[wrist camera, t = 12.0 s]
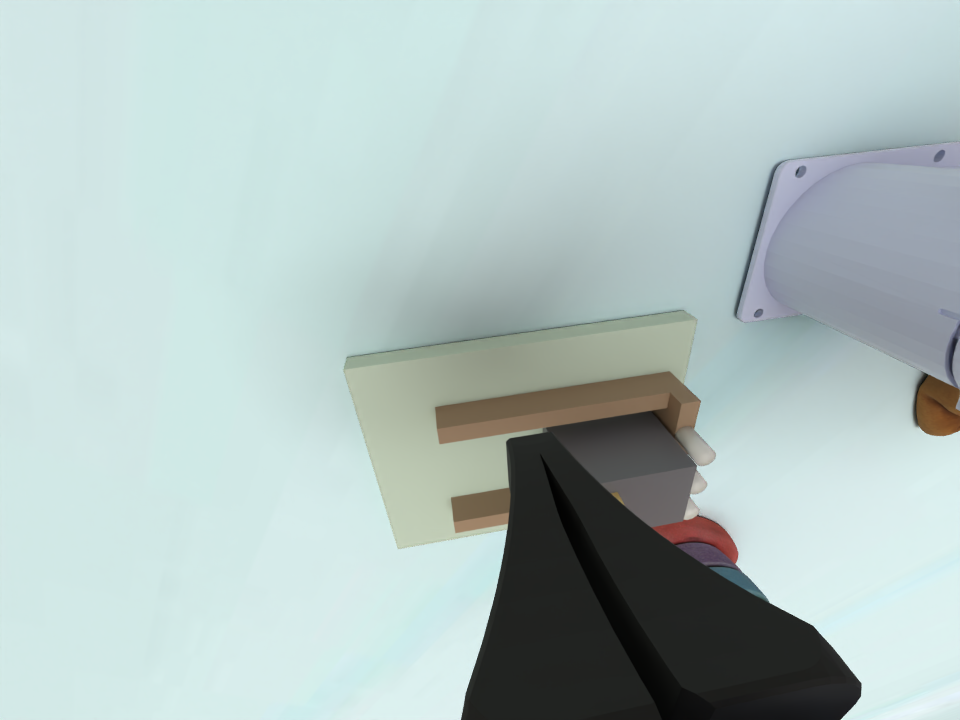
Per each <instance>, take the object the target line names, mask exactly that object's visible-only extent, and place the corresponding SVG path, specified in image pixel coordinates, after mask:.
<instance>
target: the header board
mask: <svg viewBox="0 0 960 720" xmlns="http://www.w3.org/2000/svg"><path fill="white" fill-rule="evenodd" d="M697 320H698V319H696V318H695V317H693V316H692V315H690V314H689V313H687V312H686V311H684V310H683V311H676V312H669V313H662V314H655V315H647V316H640V317H633V318H626V319H619V320H612V321H605V322H597V323H590V324H583V325H576V326H569V327H562V328H555V329H547V330H540V331H533V332H526V333H519V334H512V335H505V336H497V337H490V338H483V339H476V340H469V341H462V342H455V343H447V344H440V345H433V346H426V347H419V348H412V349H405V350H397V351H390V352H383V353H376V354H369V355H362V356H355V357H347V359H346V363H345V366H344V369H343V370H344V374H345V377H346V380H347V384H348V387H349V390H350V393H351V397H352V400H353V403H354V406H355V410H356V413H357V416H358V420H359V423H360V426H361V429H362V433H363V436H364V439H365V443H366V446H367V449H368V452H369V456H370V459H371V462H372V466H373V469H374V472H375V475H376V479H377V482H378V485H379V488H380V492H381V495H382V498H383V502H384V505H385V508H386V511H387V515H388V518H389V521H390V525H391V528H392V531H393V534H394V538H395V541H396V544H397V548H398V549H402V548H407V547H413V546H419V545H424V544H430V543H435V542H441V541H446V540H452V539H458V538H463V537H469V536H474V535H480V534H486V533H491V532H497V531H502V530H507V528H508V519H509V509H510V497H511V494H510V489H509V481H508V466H507V451H506V441H507V440H508V439H509V438H514V437H520V436H526V435H533V434H539V433H543V428H546V427H552V426H558V425H564V424H571V423H577V422H583V421H589V420H596V419H602V418H608V417H614V416H621V415H627V414H633V413H639V412H646V411H652V412H653V414H654V415H655V416H656V417H657V418H658V420H659V421H660V422H661V423H662V424H663V426H664V427H665V428H666V429H667V430H668V432H669V433H670V434H671V435H672V436H673V438H674V439H675V440H676V441H677V442H678V444H679V445H680V446H681V447H682V448H683V450H684V451H685V452H686V453H687V454H689V456H690V457H691V458H692V459H693V460H694V462H695V463H696V464H697V465H699V466H705V465H708V464H710V463H711V462H712V461H713V460H714V459H715V457H716V453H715V452H714V451H713V450H712V448H711V447H710V446H709V445H708V444H707V443H706V442H705V441H704V440H703V439H702V438H701V437H700V435H699V434H698V433H697V432H696V431H695V430H694V427H695V423H696V419H697V415H698V411H699V407H700V403H701V401H700V400H699V399H698V398H697V397H696V396H695V395H694V394H693V393H692V392H691V391H690V390H689V389H688V388H687V387H686V386H685V385H684V380H685V375H686V371H687V366H688V362H689V357H690V352H691V348H692V343H693V338H694V334H695V329H696V324H697ZM706 487H707V482H706V481H705V480H704V478H703V477H702V476H701V475H700V473H699V472H698V471H697V470H696V472H695V476H694V480H693V484H692V488H691V492H690V494H698V493H700V492H702V491H703V490H705V488H706ZM698 513H699V508H698V507H697V506H696V504H695V503H694V502H693V500H692V499H691V498H690V496H689V500H688V504H687V508H686V512H685V516H684V520H689V519H692V518H694V517H696V516H697V515H698Z"/></svg>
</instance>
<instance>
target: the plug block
mask: <svg viewBox="0 0 960 720" xmlns="http://www.w3.org/2000/svg"><path fill="white" fill-rule="evenodd" d="M545 432H552V433H553V434H554V435H555V436H556V437H557V438H558V439H559V440H560V442H561V443H562V444H563V445H564V446H565V447H566V448H567V450H568V451H569V452H570V453H571V454H572V455H573V456H574V457H575V458H576V459H577V460H578V462H579V463H580V464H581V465H582V466H583V467H584V468H585V469H586V470H587V471H588V472H589V473H590V474H591V475H592V476H593V477H594V478H595V479H596V480H597V481H598V482H599V483H600V484H601V485H602V486H603V487H605V488H606V489H607V490H608V491H609V492H610V493H611V494H612V495H613V496H614V497H615V498H617V499H618V500H619V501H620V502H621V503H622V504H623V505H625V506H626V507H627V508H628V509H629V510H630V511H632V512H633V513H634V514H635V515H636V516H638V517H639V518H640V519H641V520H642V521H644V522H645V523H646V524H648V525H649V526H650V527H656V526H661V525H666V524H672V523H677V522H682V521H683V520H684V516H685V512H686V508H687V504H688V500H689V496H690V492H691V488H692V484H693V480H694V476H695V472H696V468H697V465H696V464H695V463H694V462H693V460H692V459H691V458H690V457H689V456H688V454H687V453H686V452H685V451H684V450H683V448H682V447H681V446H680V445H679V444H678V442H677V441H676V440H675V439H674V438H673V436H672V435H671V434H670V433H669V432H668V430H667V429H666V428H665V427H664V426H663V424H662V423H661V422H660V421H659V420H658V418H657V417H656V416H655V415H654V414H653V412H652V411H646V412H639V413H633V414H627V415H621V416H614V417H608V418H602V419H596V420H589V421H583V422H577V423H571V424H564V425H558V426H552V427H546V428H543V433H545Z"/></svg>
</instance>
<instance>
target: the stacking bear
mask: <svg viewBox="0 0 960 720" xmlns="http://www.w3.org/2000/svg"><path fill="white" fill-rule="evenodd" d="M651 528H653V529H654V530H655V531H657V532H658V533H659V534H661V535H662V536H663V537H665V538H666V539H667V540H669V541H670V542H672V543H673V544H674V545H676V546H677V547H679V548H680V549H681V550H683V551H684V552H686V553H687V554H689V555H690V556H692V557H694V558H695V559H697V560H698V561H700V562H701V563H703V564H704V565H706V566H707V567H709V568H710V569H712V570H714V571H715V572H717V573H718V574H720V575H721V576H723V577H724V578H726V579H728V580H730V581H731V582H733V583H735V584H736V585H738V586H740V587H741V588H743V589H745V590H747V591H748V592H750V593H752V594H754V595H755V596H757V597H759V598H761V599H763V600H765V601H767V602H768V603H769V601H768V599H767V598H766V596H765V595H764V594H763V593H762V592H761V591H760V590H759V588H758V587H757V586H756V585H755V584H754V583H753V582H752V581H751V580H750V579H749V578H748V577H747V576H746V575H745V574H744V573H742V571H741V570H740V569H739V568H738V567H737V566H736V565H735V563H736V562H737V559H738V551H737V548H736V545H735V543H734V542H733V540H732V538H731V537H730V535H729V534H728V533H727V532H726V531H725V530H724V529H723V528H722V527H721V526H719V525H718V524H716V523H715V522H713V521H710V520H708V519H705V518H702V517H697V516H696V517H694V518H692V519H689V520H683V521H682V522H677V523H672V524H666V525H661V526H656V527H651Z"/></svg>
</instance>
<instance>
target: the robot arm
mask: <svg viewBox="0 0 960 720" xmlns="http://www.w3.org/2000/svg"><path fill="white" fill-rule="evenodd" d="M798 168H799V172H798V174H797V175H796V176H795V172H796V170H797V169H798ZM757 310H758V311H757ZM756 311H757V312H756ZM755 312H756V313H755ZM754 313H755V314H754ZM803 314H804V315H806V316H808V317H810V318H812V319H814V320H816V321H818V322H820V323H823V324H825V325H827V326H829V327H831V328H833V329H835V330H837V331H839V332H841V333H843V334H845V335H848V336H850V337H852V338H854V339H856V340H858V341H860V342H862V343H864V344H866V345H868V346H870V347H873V348H875V349H877V350H879V351H881V352H883V353H885V354H887V355H889V356H891V357H893V358H895V359H897V360H900V361H902V362H904V363H906V364H908V365H910V366H912V367H914V368H916V369H918V370H920V371H922V372H925V373H927V374H929V375H931V376H933V377H935V378H937V379H939V380H941V381H943V382H945V383H947V384H950V385H952V386H954V387H956V388H958V389H960V142H948V143H939V144H930V145H921V146H912V147H903V148H894V149H885V150H876V151H867V152H858V153H849V154H840V155H831V156H822V157H813V158H804V159H795V160H787V161H784V162H783V163H781V164H780V165H779V166H778V167H777V169H776V171H775V173H774V177H773V181H772V184H771V188H770V192H769V196H768V199H767V203H766V207H765V211H764V214H763V218H762V222H761V225H760V229H759V233H758V237H757V240H756V244H755V248H754V252H753V255H752V259H751V263H750V266H749V270H748V274H747V278H746V281H745V285H744V289H743V293H742V296H741V300H740V304H739V307H738V311H737V318H738V319H739V320H741V321H742V322H745V323H748V322H754V321H761V320H768V319H775V318H782V317H789V316H796V315H803ZM956 409H957V410H959V411H960V397H959V400H958V403H957V405H956ZM506 451H507V466H508V481H509V489H510V494H511V497H510V509H509V519H508V528H507V536H506V542H505V548H504V554H503V560H502V565H501V570H500V574H499V579H498V584H497V588H496V593H495V597H494V601H493V605H492V609H491V612H490V616H489V620H488V623H487V627H486V631H485V634H484V638H483V641H482V645H481V648H480V651H479V654H478V658H477V661H476V664H475V667H474V670H473V673H472V676H471V679H470V682H469V685H468V688H467V691H466V695H465V702H464V707H463V713H462V718H461V720H841V719H842V718H843V716H844V715H845V714H846V713H847V712H848V711H849V710H850V709H851V708H852V707H853V706H854V705H855V704H856V702H857V701H858V700H859V698H860V697H861V682H860V681H859V680H858V679H857V677H856V676H855V675H854V674H853V672H852V671H851V670H850V669H849V667H848V666H847V665H846V664H845V662H844V661H843V660H842V658H841V657H840V656H839V655H838V654H837V652H836V651H835V650H834V649H833V647H832V646H831V645H830V644H829V643H828V642H827V641H826V640H825V639H824V638H823V637H822V635H821V634H820V633H819V632H818V631H817V630H816V629H815V628H814V626H812V625H810V624H808V623H807V622H805V621H803V620H801V619H799V618H797V617H795V616H793V615H791V614H789V613H787V612H786V611H784V610H782V609H780V608H778V607H776V606H774V605H772V604H770V603H768V602H767V601H765V600H763V599H761V598H759V597H757V596H755V595H754V594H752V593H750V592H748V591H747V590H745V589H743V588H741V587H740V586H738V585H736V584H735V583H733V582H731V581H730V580H728V579H726V578H724V577H723V576H721V575H720V574H718V573H717V572H715V571H714V570H712V569H710V568H709V567H707V566H706V565H704V564H703V563H701V562H700V561H698V560H697V559H695V558H694V557H692V556H690V555H689V554H687V553H686V552H684V551H683V550H681V549H680V548H679V547H677V546H676V545H674V544H673V543H672V542H670V541H669V540H667V539H666V538H665V537H663V536H662V535H661V534H659V533H658V532H657V531H655V530H654V529H653V528H651V527H650V526H649V525H648V524H646V523H645V522H644V521H642V520H641V519H640V518H639V517H638V516H636V515H635V514H634V513H633V512H632V511H630V510H629V509H628V508H627V507H626V506H625V505H623V504H622V503H621V502H620V501H619V500H618V499H617V498H615V497H614V496H613V495H612V494H611V493H610V492H609V491H608V490H607V489H606V488H605V487H603V486H602V485H601V484H600V483H599V482H598V481H597V480H596V479H595V478H594V477H593V476H592V475H591V474H590V473H589V472H588V471H587V470H586V469H585V468H584V467H583V466H582V465H581V464H580V463H579V462H578V460H577V459H576V458H575V457H574V456H573V455H572V454H571V453H570V452H569V451H568V450H567V448H566V447H565V446H564V445H563V444H562V443H561V442H560V440H559V439H558V438H557V437H556V436H555V435H554V434H553V433H552V432H545V433H539V434H533V435H526V436H520V437H514V438H509V439H508V440H507V441H506Z"/></svg>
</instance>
